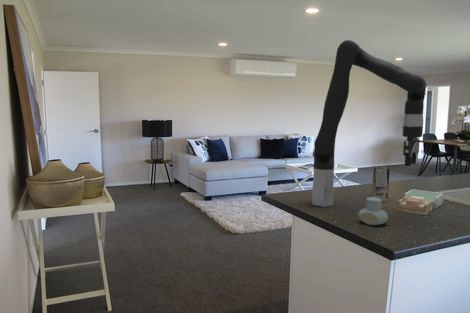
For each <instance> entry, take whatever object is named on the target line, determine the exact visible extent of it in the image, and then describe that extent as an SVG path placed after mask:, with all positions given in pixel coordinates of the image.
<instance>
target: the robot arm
mask: <svg viewBox="0 0 470 313" xmlns="http://www.w3.org/2000/svg"><path fill="white" fill-rule="evenodd" d="M336 49H337V50H336V55H335V60H334V67H333V73H332V74H331V75H332V76H331V79H330V83H329V87H328V91H327V93H326V96H325V101H324V105H323V112H322V120H321V125H320V128H319V131H318V133H317V136H316V138H315V140H314V142H313V143H314V145H313V146H314V149H313V151H314V152H313V153H314V154H313V174H312V177H313V179H312V180H313V183H312V194H311V195H312V197H311V205H312V206H317V207H321V208H325V207H331V206H333V203H334V202H333V201H334V179H335V176H334V174H335V147H336V139H337V133H338V127H339V125H340V122H341V119H342V117H343V115H344V111H345V109H346V105H347V101H348V98H349V92H350V74H351V70H352V67H353V66H356V67H359V68H362V69H364V70H366V71H368V72H370V73H372V74H374V75H375V76H377V77H379V78H381V80H382V79H383V80H384V81H386V82H388V83H391V84H393V85H396V86H398V87H399V88H401V89H402V90H404V91H406V92H407V96H406V98H407V99H406V100H405V104H404V115H403V120H402V121H403V123H402V137H405V138H406V140H404V141H403V154H402V155H403V157H404V159H405V160H404V166H406V167H410V166H412V165H415V164H416V163H417V156H418V154H419V152H420V138H421V137H423V134H424V133H423V132H424V108H425V107H424V104H425V103H424V102H425V97H426V91H427V90H426V89H427V83H426V79H424V78H423V77H421V76H418V75H417V74H415V73H411V72H410V71H407V70H405V68H402V67H400V66H398V65H396V64H394V63H392V62H389V61H387V60H384V59H381V58H378V57H376V56H373V55H372V54H369V53H368V52H367V51H365V50H364V49H363V48H361V47H360V45H359V44H358V43H356V42H355V41H353V40H352V39H351V40H350V39H345V40H344V41H342V42H341V43H340V44H339V45H338V47H337V48H336Z"/></svg>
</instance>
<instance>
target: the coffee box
mask: <svg viewBox="0 0 470 313" xmlns="http://www.w3.org/2000/svg"><path fill="white" fill-rule="evenodd" d="M390 171H391V169H390V168H388V167H387V166H373V167H372V186H371V187H372V188H371V191H372V193H371V197H376V198H380V199H382V202H385V203H386V202H387V203H388V200H389V188H390V187H389V183H390Z"/></svg>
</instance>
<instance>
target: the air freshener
mask: <svg viewBox="0 0 470 313" xmlns="http://www.w3.org/2000/svg"><path fill="white" fill-rule="evenodd" d="M382 206H383V201H382V199H380V198H376V197H372V196H369V197H366V198H365V207H364V208H362V209H361V210H360V211H359V212H358V217H359V220H360V221H361V222H363V223H364V224H366V225H368V226H381V225H383V224H385V223H386V222H387V221H388V220H389V215H388V213H387V212H386V211H385V210H383V209H382V208H383V207H382Z"/></svg>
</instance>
